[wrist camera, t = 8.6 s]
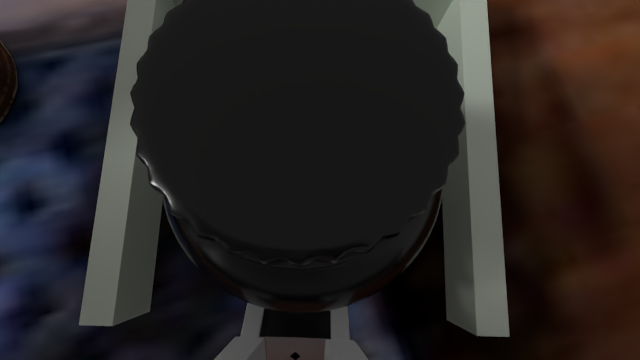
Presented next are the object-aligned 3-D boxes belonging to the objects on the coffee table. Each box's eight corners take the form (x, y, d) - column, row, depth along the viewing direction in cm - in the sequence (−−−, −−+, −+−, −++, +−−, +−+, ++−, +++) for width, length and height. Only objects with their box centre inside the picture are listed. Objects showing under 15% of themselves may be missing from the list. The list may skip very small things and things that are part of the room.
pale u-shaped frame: (473, 320, 16) (509, 336, 13) (122, 310, 16) (78, 325, 13) (457, 10, 19) (484, -34, 16) (162, -1, 19) (134, -48, 16)
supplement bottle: (381, 291, 16) (570, 381, 4) (227, 286, 16) (-17, 359, 4) (381, 145, 17) (518, -92, 6) (241, 139, 17) (89, -113, 6)
